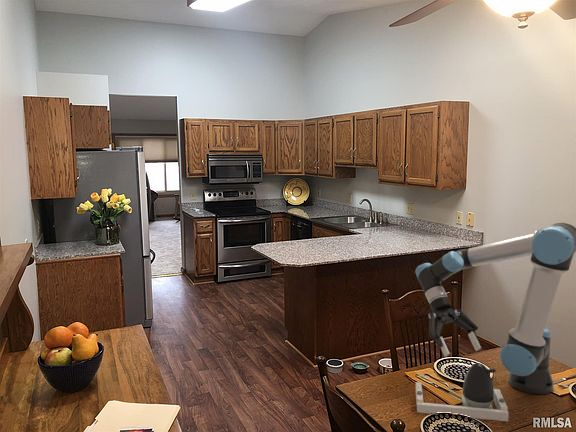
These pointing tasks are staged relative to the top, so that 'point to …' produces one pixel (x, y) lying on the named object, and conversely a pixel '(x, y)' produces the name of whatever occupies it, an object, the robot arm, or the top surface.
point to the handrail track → (465, 407)
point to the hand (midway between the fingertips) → (463, 352)
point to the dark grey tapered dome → (478, 386)
